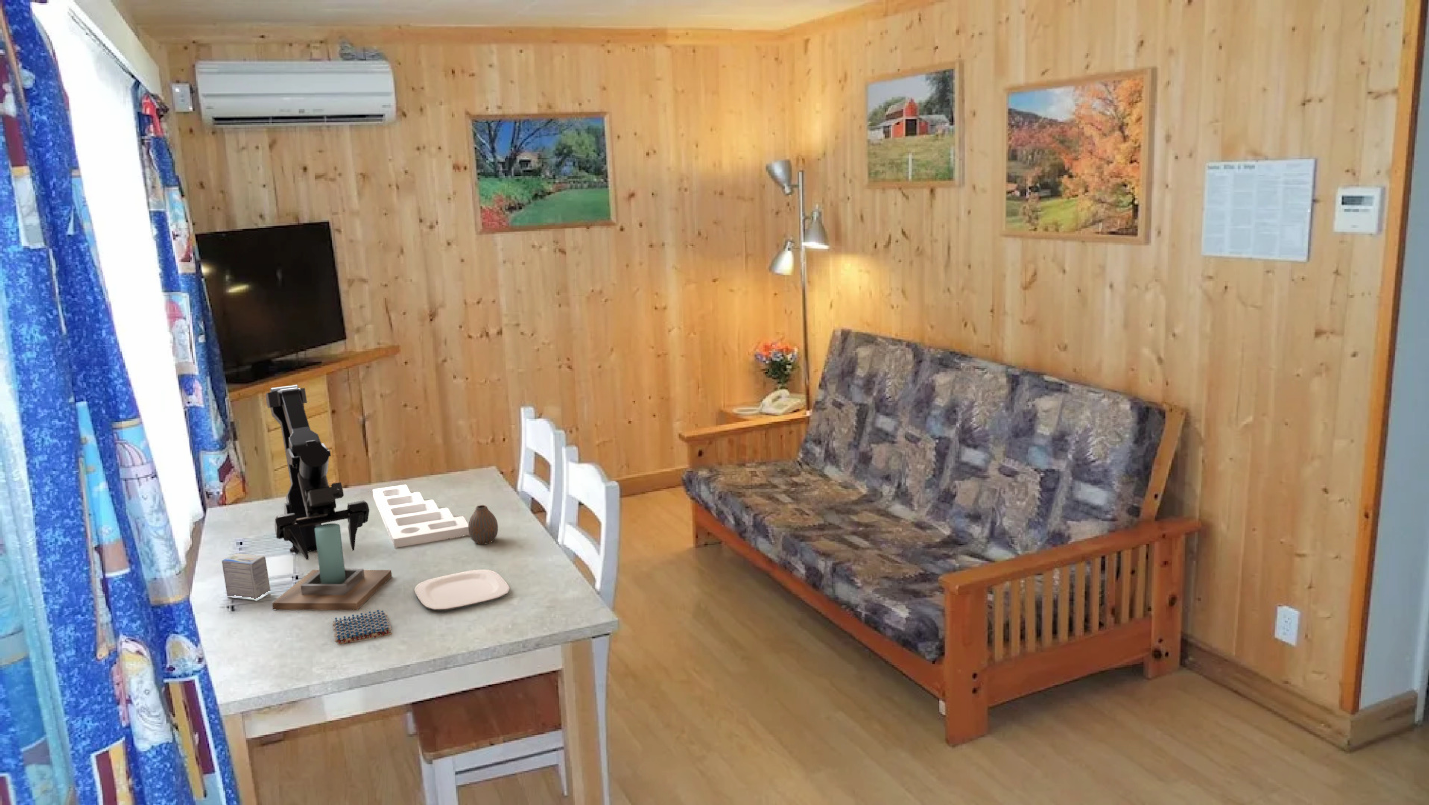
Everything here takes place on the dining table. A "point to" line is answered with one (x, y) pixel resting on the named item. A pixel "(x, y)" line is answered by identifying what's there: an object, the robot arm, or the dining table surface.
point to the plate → (461, 589)
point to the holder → (415, 517)
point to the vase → (482, 525)
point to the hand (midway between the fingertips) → (330, 554)
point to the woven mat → (361, 627)
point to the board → (333, 591)
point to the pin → (330, 554)
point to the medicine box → (246, 575)
